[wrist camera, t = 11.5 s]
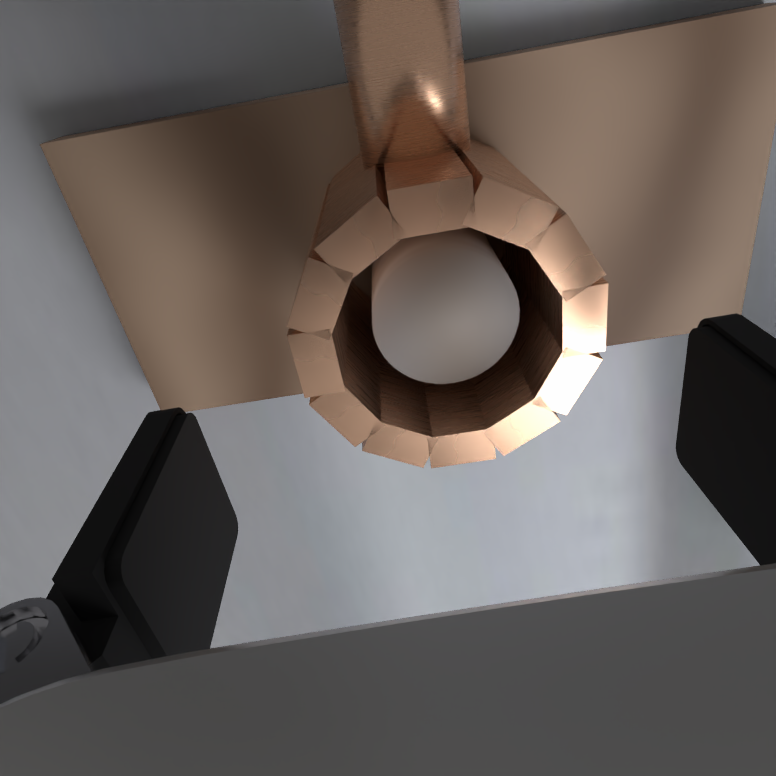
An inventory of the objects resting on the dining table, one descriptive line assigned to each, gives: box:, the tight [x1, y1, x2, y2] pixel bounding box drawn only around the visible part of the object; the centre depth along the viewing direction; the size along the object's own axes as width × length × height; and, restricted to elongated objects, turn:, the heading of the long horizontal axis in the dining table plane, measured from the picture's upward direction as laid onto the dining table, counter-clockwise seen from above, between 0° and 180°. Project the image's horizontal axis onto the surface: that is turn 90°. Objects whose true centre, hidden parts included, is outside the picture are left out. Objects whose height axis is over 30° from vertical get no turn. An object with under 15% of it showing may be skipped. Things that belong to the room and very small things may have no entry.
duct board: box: [40, 3, 776, 412], centre depth 17 cm, size 22×10×8 cm, turn 99°
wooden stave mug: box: [287, 0, 608, 468], centre depth 15 cm, size 7×11×7 cm, turn 9°
